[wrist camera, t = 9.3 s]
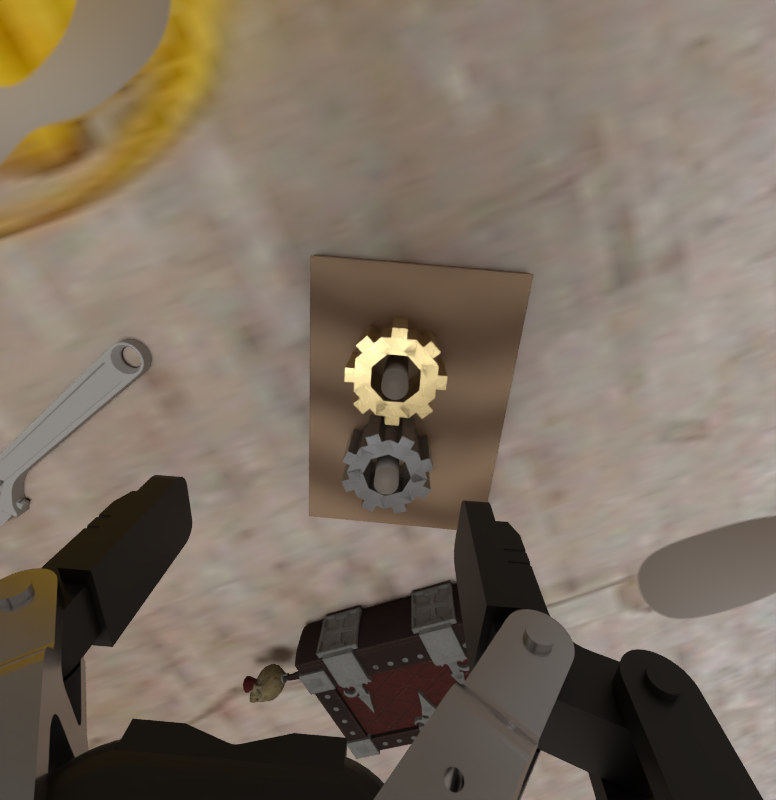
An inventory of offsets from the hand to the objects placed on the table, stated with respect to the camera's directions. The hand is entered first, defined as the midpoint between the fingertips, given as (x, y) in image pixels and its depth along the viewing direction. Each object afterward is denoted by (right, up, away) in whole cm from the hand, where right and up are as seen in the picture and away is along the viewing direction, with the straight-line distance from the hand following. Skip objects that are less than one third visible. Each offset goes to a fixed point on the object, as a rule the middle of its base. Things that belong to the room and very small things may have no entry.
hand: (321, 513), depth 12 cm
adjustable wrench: (-26, 0, +22) cm, 34 cm away
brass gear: (+3, +6, +16) cm, 17 cm away
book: (+1, -22, +30) cm, 37 cm away
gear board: (+3, +3, +19) cm, 19 cm away
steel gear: (+2, 0, +19) cm, 19 cm away
